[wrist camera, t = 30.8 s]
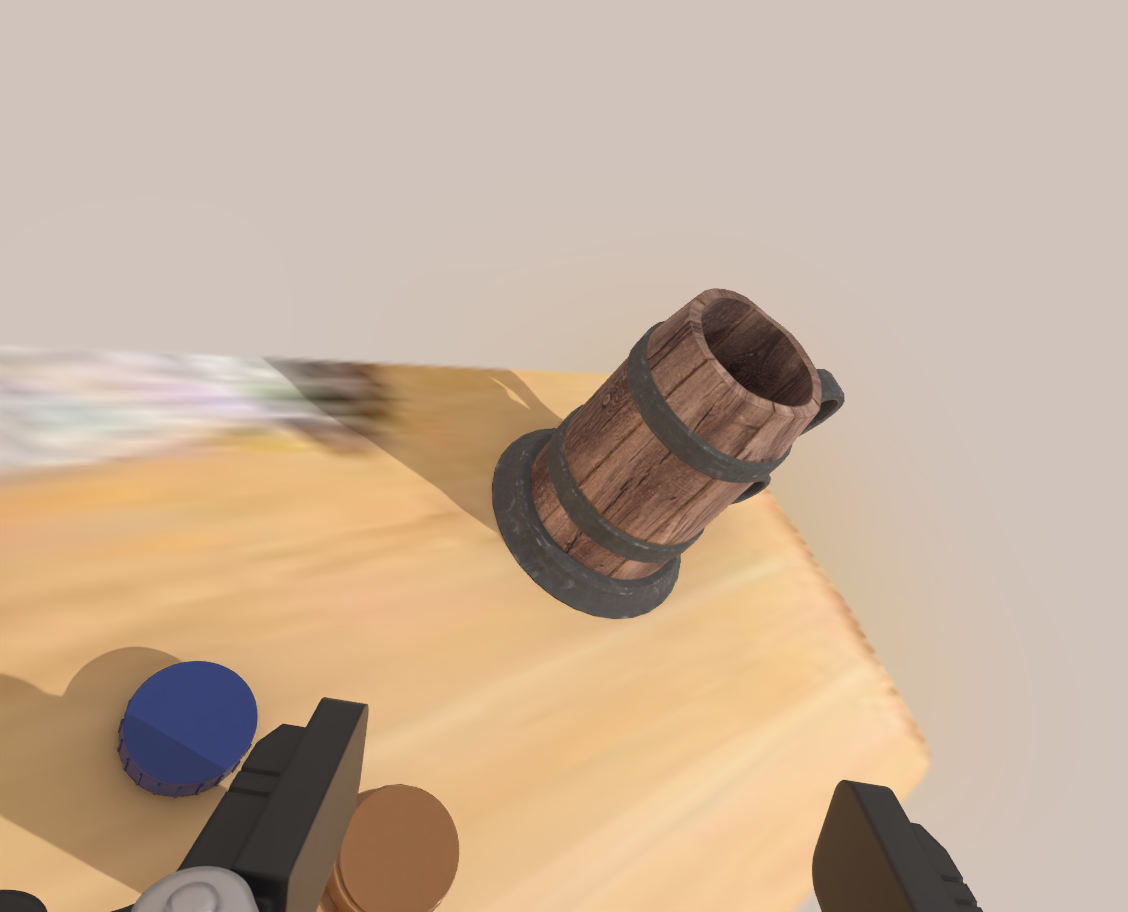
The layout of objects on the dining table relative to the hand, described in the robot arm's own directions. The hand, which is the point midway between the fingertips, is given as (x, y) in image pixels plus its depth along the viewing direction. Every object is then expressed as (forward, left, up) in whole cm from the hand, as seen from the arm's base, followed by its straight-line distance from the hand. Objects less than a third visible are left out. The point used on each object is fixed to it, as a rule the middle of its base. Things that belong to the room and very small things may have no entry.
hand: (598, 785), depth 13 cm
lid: (-10, -3, -29) cm, 30 cm away
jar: (-2, +3, -30) cm, 31 cm away
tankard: (-26, +28, -31) cm, 49 cm away
